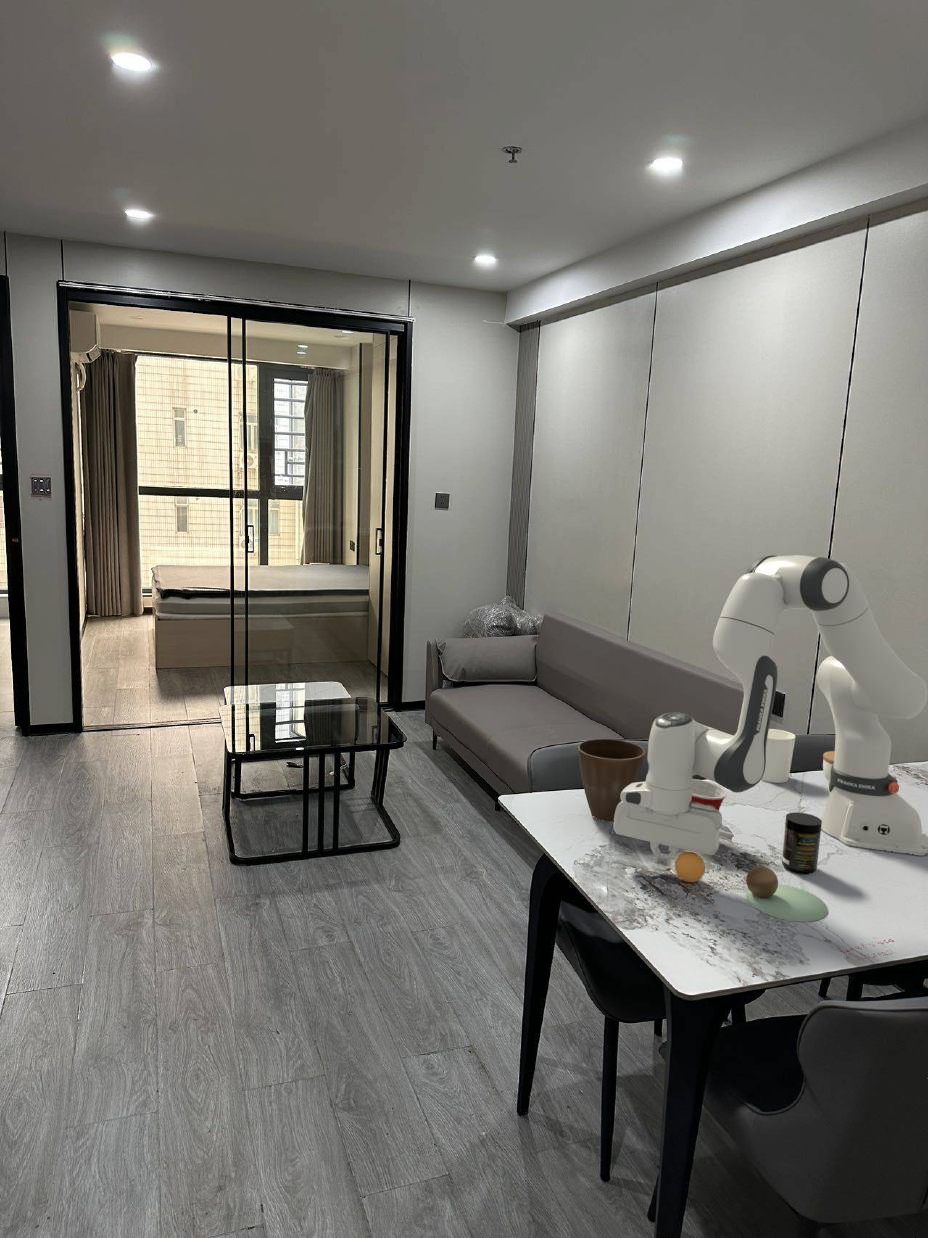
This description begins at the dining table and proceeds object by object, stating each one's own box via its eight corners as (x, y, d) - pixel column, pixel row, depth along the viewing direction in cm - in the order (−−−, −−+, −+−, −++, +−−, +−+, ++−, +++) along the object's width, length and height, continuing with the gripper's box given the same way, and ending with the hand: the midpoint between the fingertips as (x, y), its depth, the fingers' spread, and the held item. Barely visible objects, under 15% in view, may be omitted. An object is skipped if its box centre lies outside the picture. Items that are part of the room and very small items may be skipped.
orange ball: (675, 853, 168) (694, 876, 167) (664, 869, 164) (684, 892, 163) (695, 841, 165) (715, 864, 164) (685, 857, 160) (705, 881, 160)
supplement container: (824, 874, 169) (829, 823, 168) (795, 877, 167) (800, 826, 166) (801, 859, 176) (806, 811, 174) (774, 862, 174) (778, 813, 172)
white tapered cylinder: (770, 786, 220) (774, 740, 218) (744, 773, 229) (747, 730, 227) (799, 781, 224) (804, 737, 222) (772, 770, 232) (776, 727, 231)
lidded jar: (875, 791, 218) (879, 756, 217) (840, 794, 215) (843, 758, 214) (845, 777, 228) (848, 743, 227) (811, 780, 225) (814, 746, 224)
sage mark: (831, 897, 160) (831, 896, 160) (822, 929, 148) (822, 928, 147) (753, 878, 166) (753, 877, 166) (739, 908, 154) (739, 907, 154)
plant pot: (627, 834, 186) (632, 763, 183) (564, 819, 193) (567, 750, 190) (649, 812, 199) (653, 746, 196) (588, 799, 206) (592, 735, 203)
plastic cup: (725, 852, 178) (730, 797, 176) (672, 846, 180) (676, 792, 178) (721, 832, 188) (725, 780, 186) (670, 827, 190) (674, 775, 189)
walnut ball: (743, 865, 163) (755, 893, 162) (739, 876, 158) (751, 905, 157) (772, 858, 160) (784, 886, 160) (768, 869, 155) (781, 898, 155)
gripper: (726, 803, 163) (720, 871, 165) (622, 782, 173) (618, 847, 175) (719, 813, 158) (713, 884, 160) (612, 791, 167) (608, 858, 169)
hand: (663, 864), depth 167 cm, fingers closed
